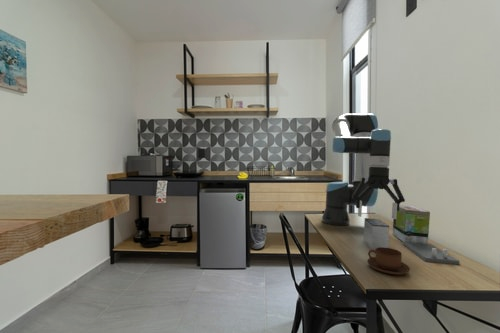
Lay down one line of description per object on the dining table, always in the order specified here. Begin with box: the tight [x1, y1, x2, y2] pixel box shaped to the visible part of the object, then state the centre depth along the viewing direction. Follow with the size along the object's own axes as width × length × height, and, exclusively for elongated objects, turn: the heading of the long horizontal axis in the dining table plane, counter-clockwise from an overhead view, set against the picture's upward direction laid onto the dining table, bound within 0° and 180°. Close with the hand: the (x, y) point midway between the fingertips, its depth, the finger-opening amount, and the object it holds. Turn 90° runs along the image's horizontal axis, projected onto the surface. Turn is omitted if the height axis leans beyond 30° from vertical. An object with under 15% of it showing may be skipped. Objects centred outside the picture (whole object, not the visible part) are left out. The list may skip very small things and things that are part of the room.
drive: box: [363, 217, 390, 251], centre depth 108 cm, size 12×6×10 cm, turn 171°
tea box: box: [392, 204, 431, 244], centre depth 119 cm, size 15×10×15 cm
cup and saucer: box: [367, 247, 411, 276], centre depth 83 cm, size 12×12×6 cm
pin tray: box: [402, 236, 460, 265], centre depth 100 cm, size 19×11×4 cm, turn 171°
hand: (376, 217), depth 108 cm, fingers open, 13 cm apart
